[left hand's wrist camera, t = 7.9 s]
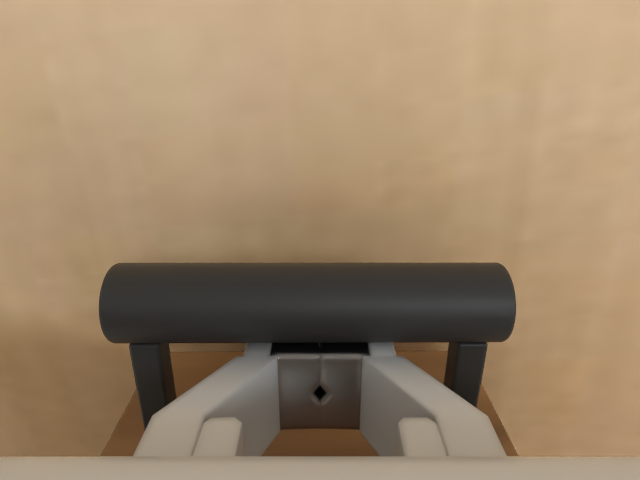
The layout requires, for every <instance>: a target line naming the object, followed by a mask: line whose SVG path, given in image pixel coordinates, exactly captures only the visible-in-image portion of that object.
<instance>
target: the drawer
mask: <svg viewBox="0 0 640 480" xmlns="http://www.w3.org/2000/svg"><path fill="white" fill-rule="evenodd" d="M515 315H516V300H515V292H514V287H513V283H512V280H511V277H510V275H509V273H508V271H507V270H506V268H505V267H504V266H503V265H501V264H499V263H118V264H115V265H114V266H112V267H111V268H110V269H109V271H108V272H107V274H106V276H105V278H104V281H103V284H102V287H101V292H100V299H99V318H100V324H101V328H102V331H103V333H104V335H105V337H106V338H107V339H108V340H109V341H110V342H113V343H130V345H129V349H130V354H131V360H132V365H133V371H134V376H135V382H136V387H137V389H136V391H135V393H134V394H133V396H132V398H131V400H130V402H129V404H128V406H127V407H126V409H125V411H124V413H123V415H122V417H121V419H120V421H119V422H118V424H117V426H116V428H115V430H114V432H113V434H112V436H111V437H110V439H109V441H108V443H107V445H106V447H105V449H104V450H103V452H102V454H101V456H133V455H134V453H135V451H136V448H137V446H138V444H139V442H140V440H141V438H142V436H143V434H144V432H145V430H146V428H147V426H148V424H149V421H150V419H151V417H152V415H154V414H155V413H157V412H158V411H160V410H161V409H162V408H164V407H165V406H167V405H168V404H169V403H171V402H172V401H174V400H175V399H177V398H178V397H179V396H181V395H182V394H184V393H185V392H187V391H188V390H189V389H191V388H192V387H194V386H195V385H196V384H198V383H199V382H201V381H202V380H204V379H205V378H206V377H208V376H209V375H211V374H212V373H214V372H215V371H216V370H218V369H219V368H221V367H222V366H223V365H225V364H226V363H228V362H229V361H231V360H232V359H233V358H235V357H236V356H243V355H244V352H170V349H169V343H346V342H449V347H448V351H395V352H396V356H404V357H405V358H406V359H408V360H409V361H411V362H412V363H413V364H415V365H416V366H418V367H419V368H421V369H422V370H423V371H425V372H426V373H428V374H429V375H430V376H432V377H433V378H435V379H436V380H437V381H439V382H440V383H442V384H443V385H445V386H446V387H447V388H449V389H450V390H452V391H453V392H454V393H456V394H457V395H459V396H460V397H461V398H463V399H464V400H466V401H467V402H469V403H470V404H471V405H473V406H474V407H476V408H477V409H478V410H480V411H481V412H483V413H484V414H485V415H487V416H488V417H489V420H490V422H491V424H492V426H493V428H494V430H495V432H496V434H497V436H498V439H499V441H500V443H501V445H502V447H503V449H504V451H505V453H506V455H507V456H518V454H517V452H516V450H515V448H514V446H513V444H512V442H511V440H510V438H509V437H508V435H507V433H506V431H505V429H504V427H503V425H502V423H501V421H500V419H499V417H498V415H497V413H496V411H495V409H494V407H493V405H492V403H491V401H490V399H489V398H488V396H487V394H486V392H485V390H484V388H483V386H482V384H481V380H482V374H483V368H484V362H485V356H486V351H487V342H503V341H505V340H507V339H508V338H509V336H510V335H511V333H512V330H513V327H514V323H515ZM262 456H378V454H377V453H376V452H375V450H374V449H373V448H372V447H371V445H370V444H369V443H368V442H367V440H366V439H365V438H364V437H363V435H362V434H361V433H360V430H351V429H288V430H280V433H279V434H278V435H277V437H276V438H275V439H274V440H273V442H272V443H271V444H270V446H269V447H268V448H267V449H266V451H265V452H264V453H263V454H262Z"/></svg>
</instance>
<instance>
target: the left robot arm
mask: <svg viewBox="0 0 640 480" xmlns="http://www.w3.org/2000/svg"><path fill="white" fill-rule="evenodd" d="M288 429H351V430H360V433H361V434H362V435H363V437H364V438H365V439H366V440H367V442H368V443H369V444H370V445H371V447H372V448H373V449H374V450H375V452H376V453H377V454H378V456H262V454H263V453H264V452H265V451H266V449H267V448H268V447H269V446H270V444H271V443H272V442H273V440H274V439H275V438H276V437H277V435H278V434H279V433H280V430H288ZM0 480H640V456H507V455H506V453H505V451H504V449H503V447H502V445H501V443H500V441H499V439H498V436H497V434H496V432H495V430H494V428H493V426H492V424H491V422H490V420H489V417H488V416H487V415H485V414H484V413H483V412H481V411H480V410H478V409H477V408H476V407H474V406H473V405H471V404H470V403H469V402H467V401H466V400H464V399H463V398H461V397H460V396H459V395H457V394H456V393H454V392H453V391H452V390H450V389H449V388H447V387H446V386H445V385H443V384H442V383H440V382H439V381H437V380H436V379H435V378H433V377H432V376H430V375H429V374H428V373H426V372H425V371H423V370H422V369H421V368H419V367H418V366H416V365H415V364H413V363H412V362H411V361H409V360H408V359H406V358H405V357H404V356H396V352H395V348H394V344H393V342H346V343H246V347H245V351H244V355H243V356H236V357H235V358H233V359H232V360H231V361H229V362H228V363H226V364H225V365H223V366H222V367H221V368H219V369H218V370H216V371H215V372H214V373H212V374H211V375H209V376H208V377H206V378H205V379H204V380H202V381H201V382H199V383H198V384H196V385H195V386H194V387H192V388H191V389H189V390H188V391H187V392H185V393H184V394H182V395H181V396H179V397H178V398H177V399H175V400H174V401H172V402H171V403H169V404H168V405H167V406H165V407H164V408H162V409H161V410H160V411H158V412H157V413H155V414H154V415H152V417H151V419H150V421H149V424H148V426H147V428H146V430H145V432H144V434H143V436H142V438H141V440H140V442H139V444H138V446H137V448H136V451H135V453H134V455H133V456H0Z"/></svg>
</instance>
